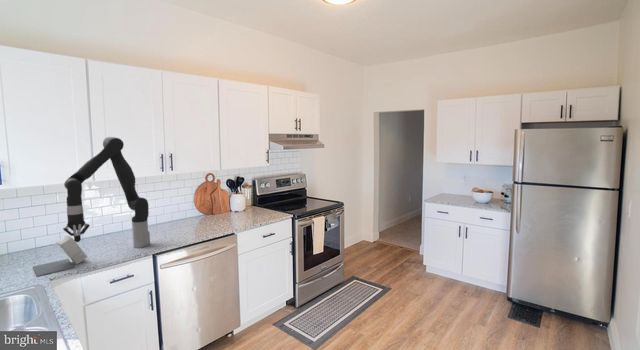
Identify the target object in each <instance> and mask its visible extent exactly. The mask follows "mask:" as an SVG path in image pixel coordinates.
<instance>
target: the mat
mask: <svg viewBox="0 0 640 350" xmlns="http://www.w3.org/2000/svg"><path fill="white" fill-rule="evenodd" d="M32 268H33V270H34V273H35V275H36V278H38V276H39V277H42V275H43V276H46V275H50V274H56V273H60V272H63V271H68V270H72V269H75V266H74V264H73V263H72V262H71V259H69V258H65V259H60V260H56V261H55V260H54V261H50V262H47V263H42V264H37V265H33V266H32Z"/></svg>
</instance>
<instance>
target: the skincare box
mask: <svg viewBox="0 0 640 350" xmlns="http://www.w3.org/2000/svg"><path fill="white" fill-rule="evenodd" d="M56 244H57V245H58V246H59V247H60V248H61V250H62V251H63V252H64V253H65V254H66V255H67V256H68V258H70V259H69V260H70V261H72V262H73V263H75V264H76V265H78V264H80V263H81V262H83V261H84V260H86V259H87V258H88V255H87V254H86V253H85V252H84V250H83V249H82V248H81V247H80V246H79V244H78V242H76V241H75V240H74V237H71V235H69V234H66V235H65V236H63V237H61V238H59V239H58V240H57V241H56Z"/></svg>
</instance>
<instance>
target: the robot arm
mask: <svg viewBox="0 0 640 350" xmlns="http://www.w3.org/2000/svg"><path fill="white" fill-rule="evenodd" d="M102 146H103V148H102V149H101V150H100V152H99V153H97V154H96V155H95V156H93V157H91V158H90V159H89V160H87V161H86V162H85V163H84V164H83V165H82V166H81V167H79V169H78V170H77V171H76V172H75V173H73V174H71V176H70V177H68V178H66V180H65V182H64V187H65V189H66V191H67V196H66V216H67V224H66V226H65V227H63V228H62V230H63V231H64V232H66V233H67V235H68V236H70V237H71V236H73V240H74V241H75V242H76V243H80V241H81V240H82V239H81V238H82V237H81V236H82V235H84V234H85V233H86V232H87V230H88V229H89V228H90V226H91V225H90V224H89V223H86V221H85V216H84V208H83V198H82V194H83V185H82V184H83V183H84V182H85V181H86V180H88V179H90V178H91V177H92V176H93V175H94V174H95V173H96V172H97V171H98V170H99V169H101V167H102V166H103V165H104V164H105V163H106V162H107V161H109V160H110V161H111V164H112V167H113V170H114V171H115V174H116V177H117V179H118V181H119V185H120V186H121V189H122V191H123V193H124V196H125V199H126V203H127V207H128V208H129V209H130V210H132V211H134V216H132V217H131V227H132V229H131V230H132V241H133V247H134V248H135V249H140V248H146V247H148V246H150V245H151V235H150V234H151V233H150V230H149V221H148V218H149V215H150V212H149V207H150V206H149V202H148V201H149V200H148V199H146V198H145V197H141V196H139V195H138V192H137V190H136V176H135V172H134V171H133V168H132V167H131V166H130V164H129V162H128V161H127V160H126V159H125V157H124V155H123V152H122V150H123V148H124V146H125V144H124V141H123V140H122V139H120V138H119V137H114V136H107V137H106V138H104V139H103V141H102ZM69 229H70V230H72V231H70V230H69Z"/></svg>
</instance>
